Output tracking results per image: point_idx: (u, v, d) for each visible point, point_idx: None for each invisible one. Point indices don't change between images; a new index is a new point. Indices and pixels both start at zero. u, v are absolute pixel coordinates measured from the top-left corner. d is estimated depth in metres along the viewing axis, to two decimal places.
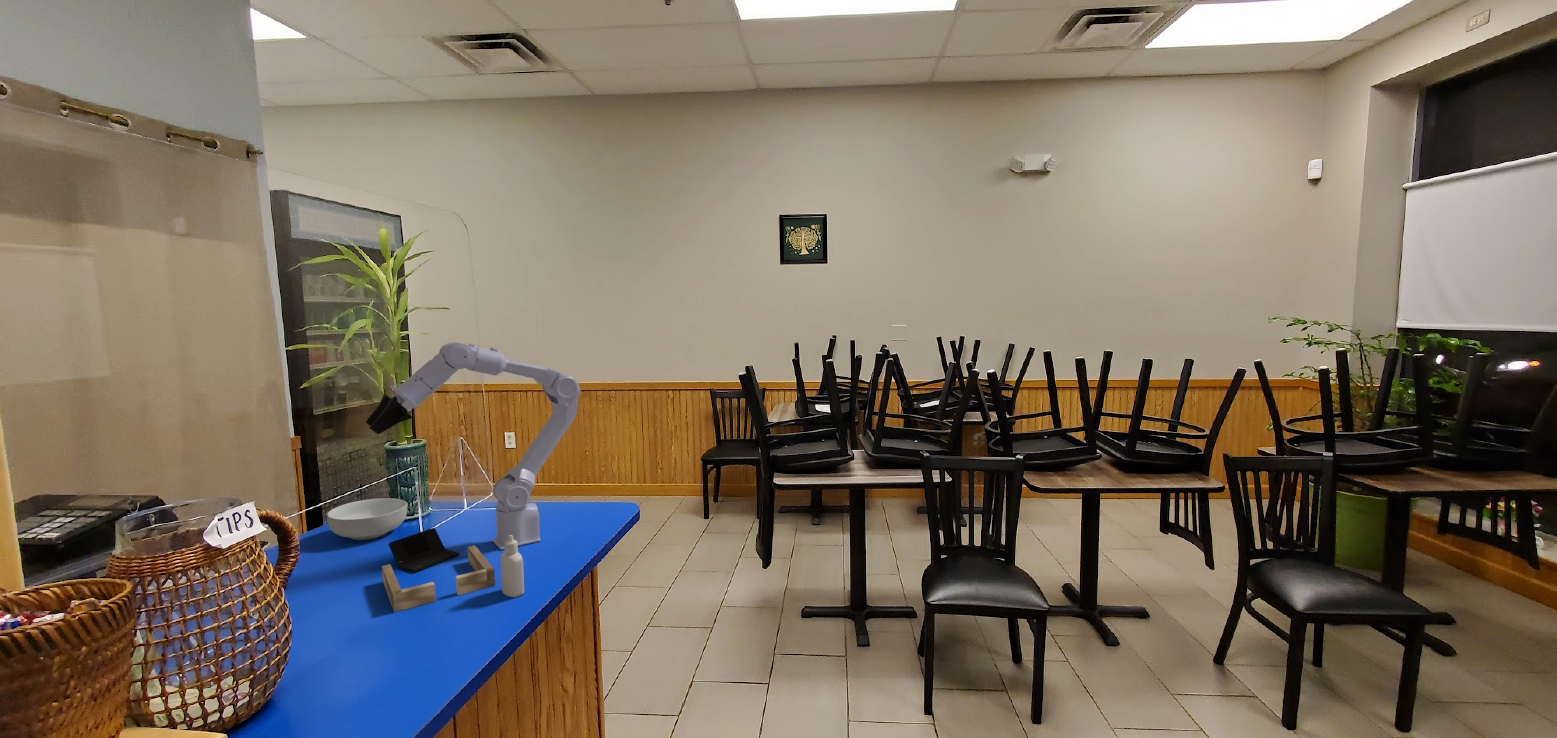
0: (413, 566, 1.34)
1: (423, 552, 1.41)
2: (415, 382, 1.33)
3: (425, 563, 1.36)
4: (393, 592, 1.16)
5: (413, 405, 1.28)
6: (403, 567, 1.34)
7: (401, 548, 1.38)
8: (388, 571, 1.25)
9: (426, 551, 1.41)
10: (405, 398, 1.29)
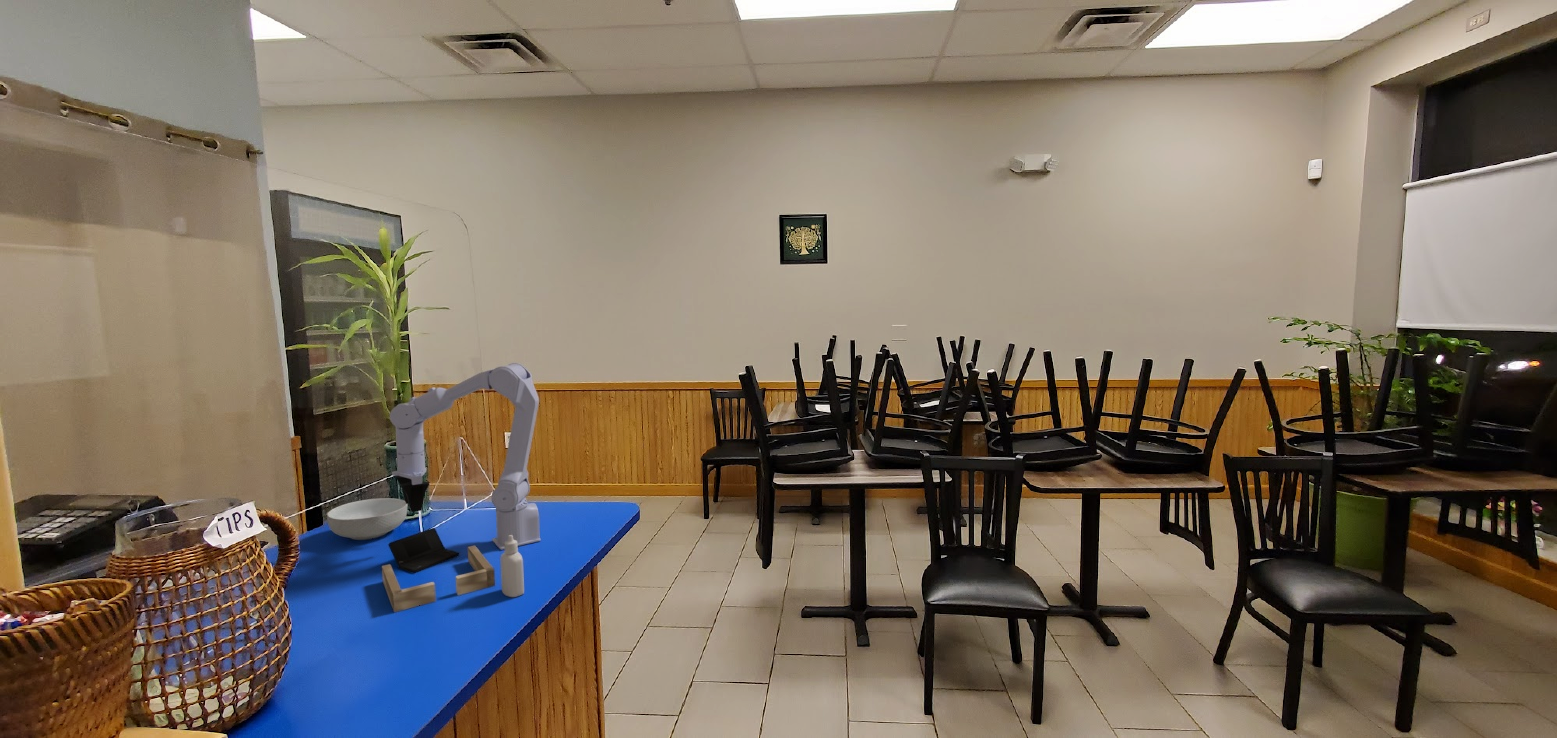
0: (413, 566, 1.34)
1: (423, 552, 1.41)
2: (404, 459, 1.44)
3: (425, 563, 1.36)
4: (393, 592, 1.16)
5: (420, 477, 1.42)
6: (403, 567, 1.34)
7: (401, 548, 1.38)
8: (388, 571, 1.25)
9: (426, 551, 1.41)
10: (410, 477, 1.42)
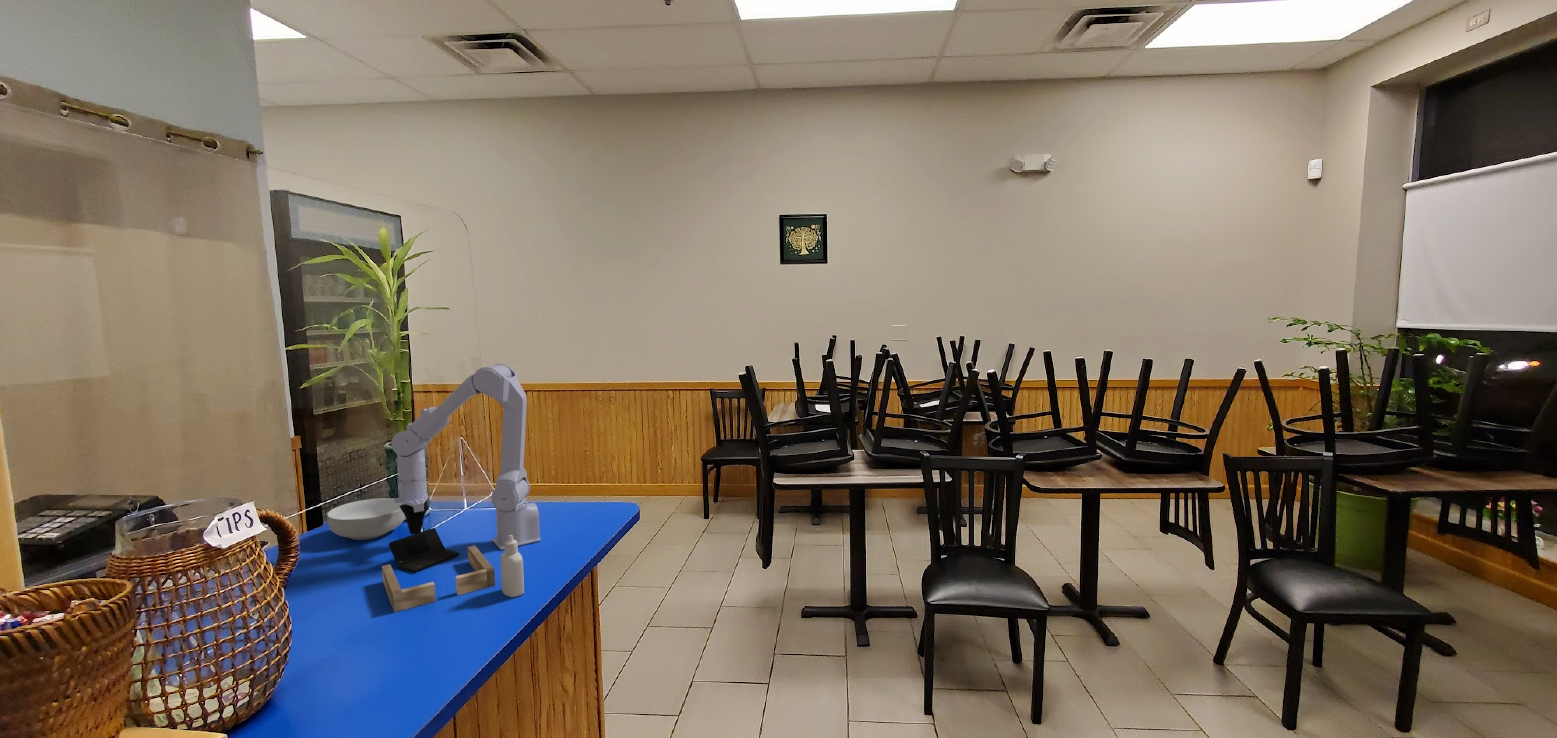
0: (413, 566, 1.34)
1: (423, 552, 1.41)
2: (406, 486, 1.44)
3: (425, 563, 1.36)
4: (393, 592, 1.16)
5: (422, 505, 1.42)
6: (403, 567, 1.34)
7: (401, 548, 1.38)
8: (388, 571, 1.25)
9: (426, 551, 1.41)
10: (412, 505, 1.42)
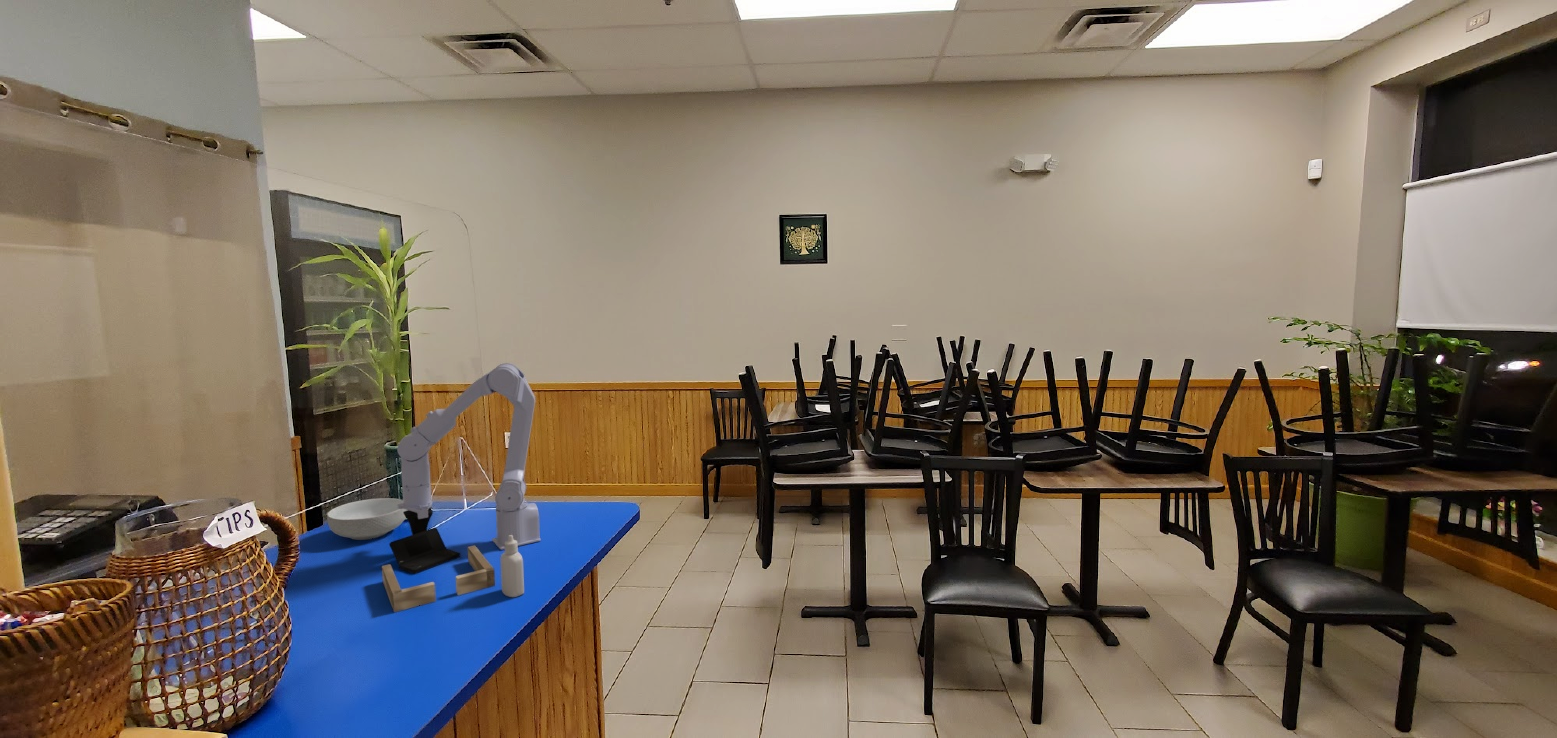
0: (413, 566, 1.34)
1: (424, 552, 1.40)
2: (410, 492, 1.40)
3: (425, 563, 1.35)
4: (393, 592, 1.16)
5: (426, 511, 1.38)
6: (403, 567, 1.34)
7: (402, 547, 1.37)
8: (388, 571, 1.25)
9: (427, 551, 1.41)
10: (416, 511, 1.38)
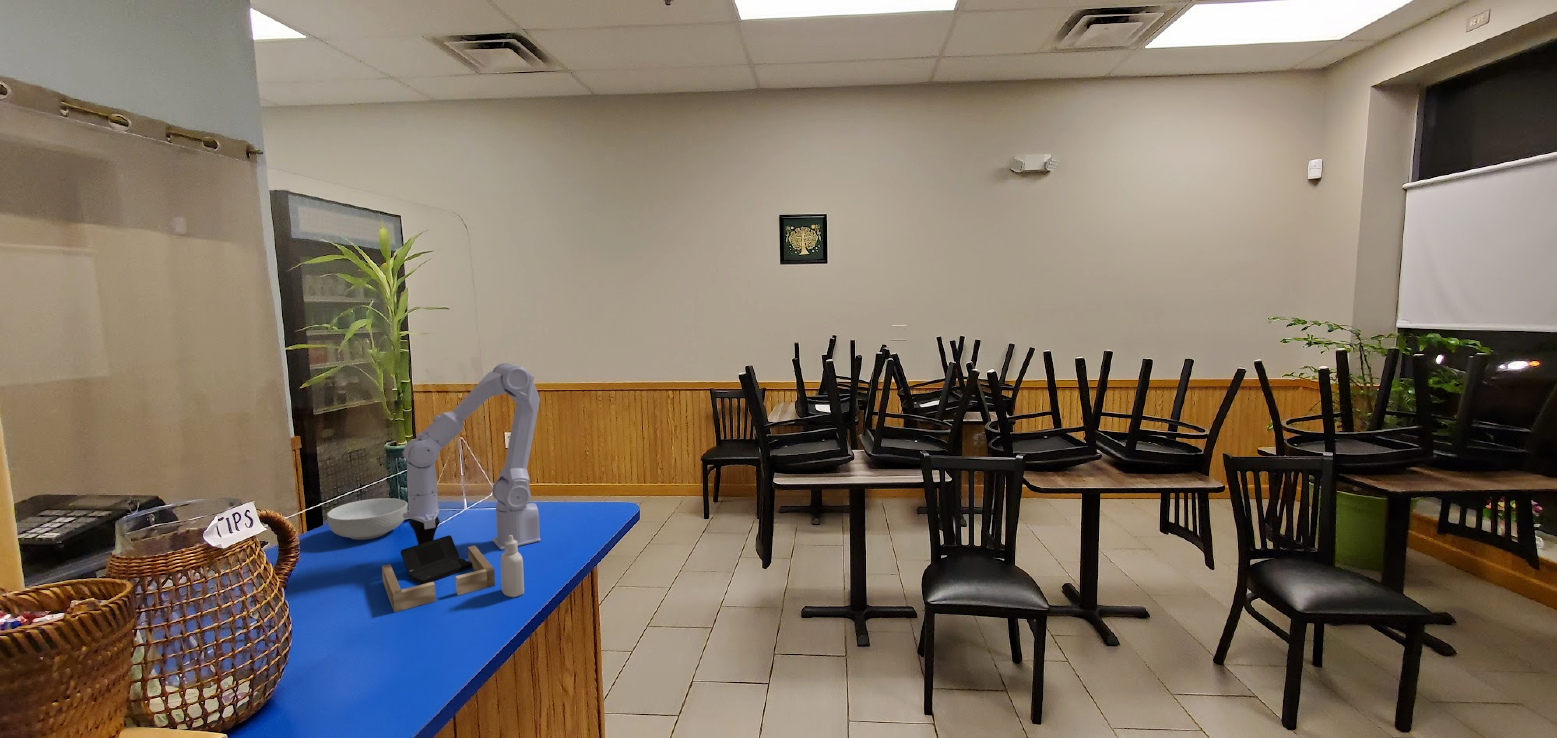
0: (422, 576, 1.29)
1: (436, 561, 1.35)
2: (416, 500, 1.34)
3: (435, 573, 1.30)
4: (393, 592, 1.16)
5: (433, 521, 1.32)
6: (413, 576, 1.29)
7: (413, 556, 1.33)
8: (388, 571, 1.25)
9: (439, 560, 1.36)
10: (422, 521, 1.32)
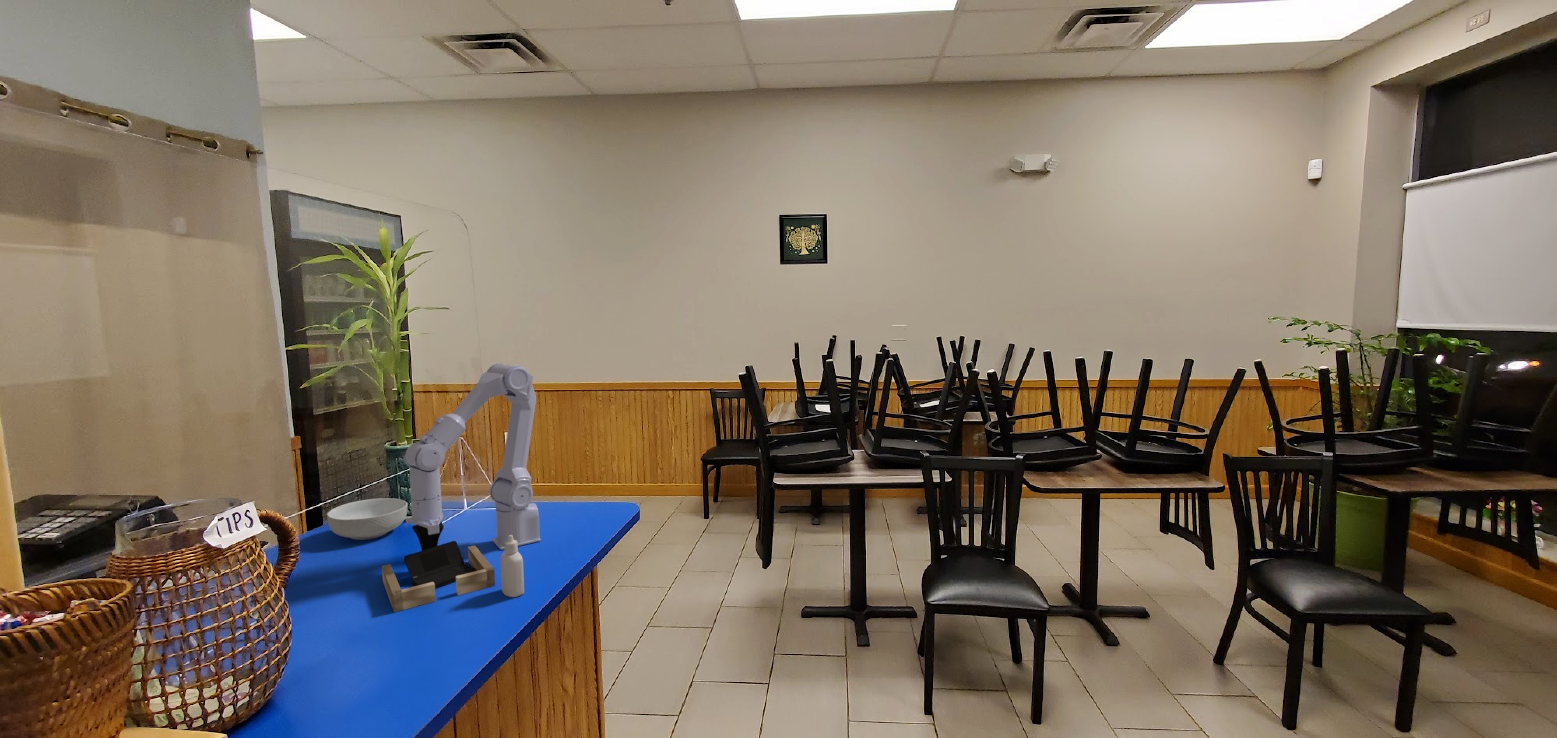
0: None
1: (441, 567, 1.32)
2: (419, 505, 1.31)
3: (439, 580, 1.27)
4: (393, 592, 1.16)
5: (437, 526, 1.29)
6: (416, 583, 1.26)
7: (417, 562, 1.30)
8: (388, 571, 1.25)
9: (444, 566, 1.33)
10: (426, 526, 1.29)
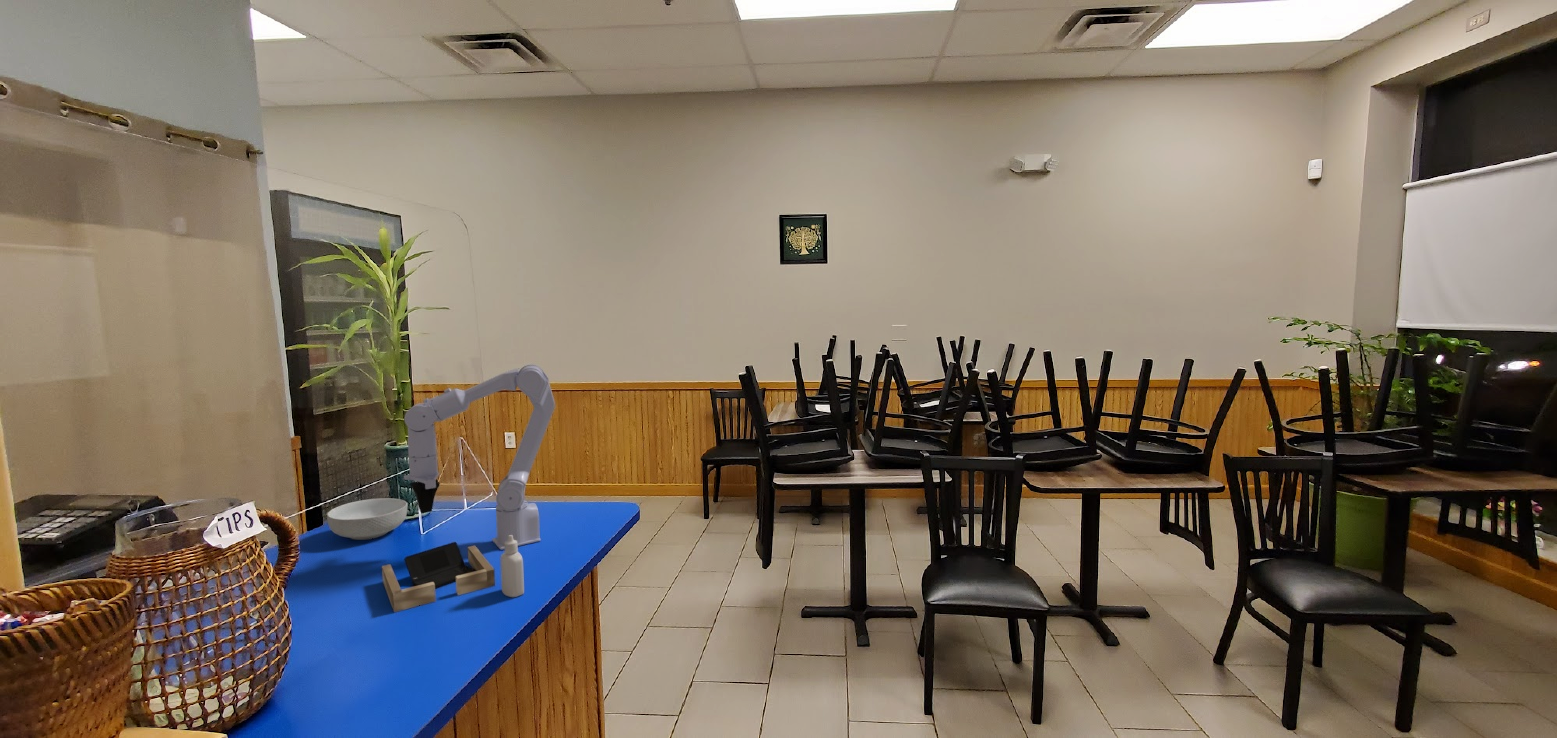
0: None
1: (441, 568, 1.32)
2: (417, 462, 1.39)
3: (439, 581, 1.27)
4: (393, 592, 1.16)
5: (434, 481, 1.37)
6: (416, 584, 1.26)
7: (417, 563, 1.30)
8: (388, 571, 1.25)
9: (444, 567, 1.33)
10: (423, 481, 1.37)
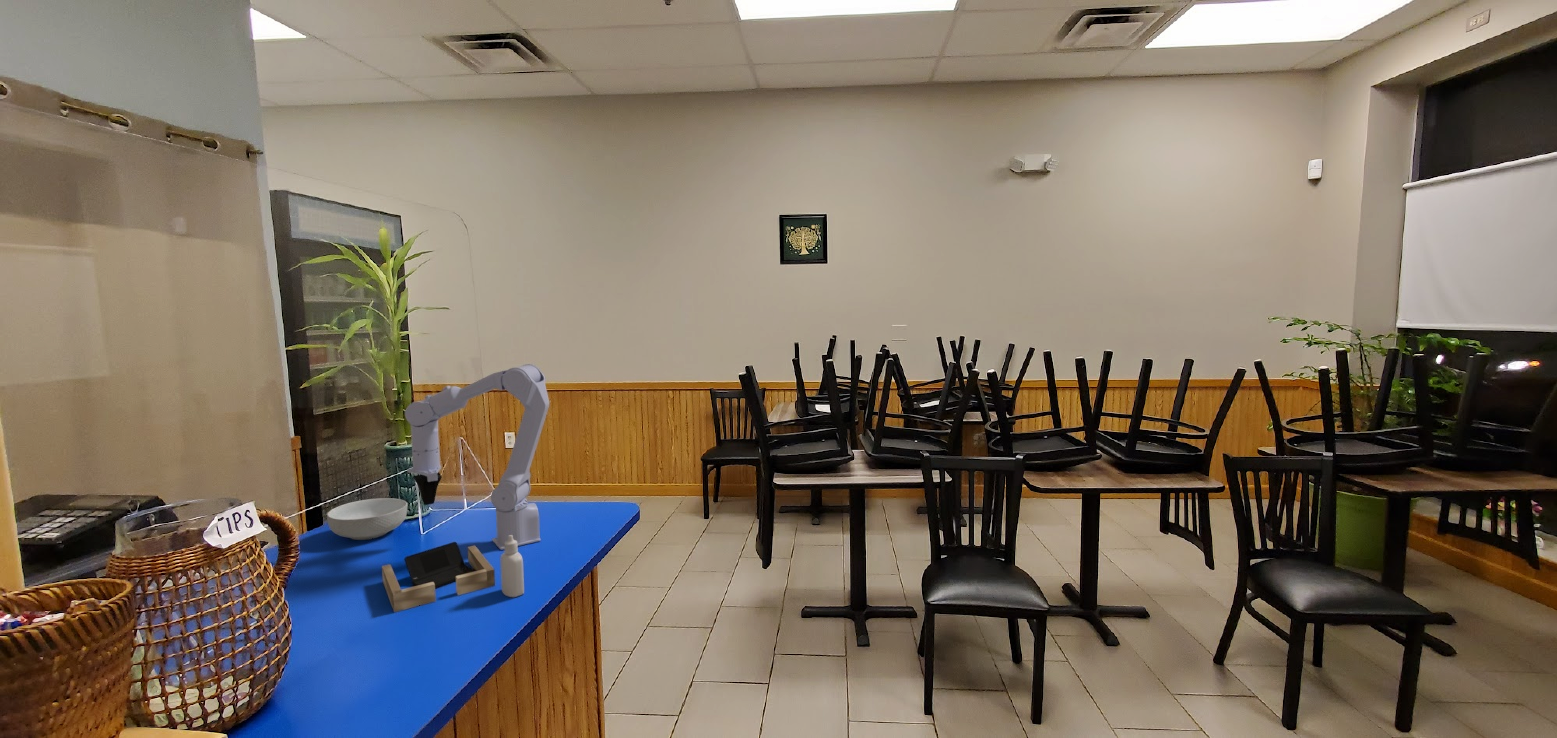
0: None
1: (441, 568, 1.32)
2: (419, 456, 1.45)
3: (439, 581, 1.27)
4: (393, 592, 1.16)
5: (435, 474, 1.43)
6: (416, 584, 1.26)
7: (417, 563, 1.30)
8: (388, 571, 1.25)
9: (444, 567, 1.33)
10: (425, 474, 1.43)
